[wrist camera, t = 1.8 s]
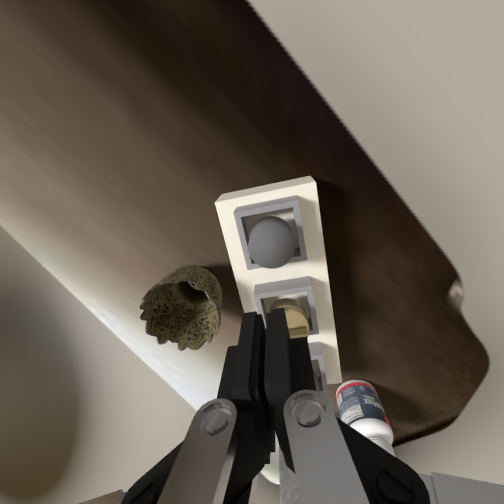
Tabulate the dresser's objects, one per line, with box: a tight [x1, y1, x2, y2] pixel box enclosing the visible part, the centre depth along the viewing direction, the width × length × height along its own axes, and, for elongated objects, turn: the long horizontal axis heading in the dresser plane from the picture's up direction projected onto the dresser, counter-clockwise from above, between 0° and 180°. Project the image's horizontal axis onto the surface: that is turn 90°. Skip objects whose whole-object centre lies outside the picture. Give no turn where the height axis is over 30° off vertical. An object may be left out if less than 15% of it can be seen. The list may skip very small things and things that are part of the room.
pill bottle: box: [336, 380, 396, 457], centre depth 34 cm, size 5×5×9 cm
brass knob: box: [268, 298, 309, 339], centre depth 25 cm, size 4×4×3 cm
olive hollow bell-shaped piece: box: [140, 265, 222, 351], centre depth 29 cm, size 8×7×8 cm
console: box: [215, 176, 342, 394], centre depth 29 cm, size 23×9×6 cm, turn 12°
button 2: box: [248, 216, 295, 269], centre depth 23 cm, size 4×4×3 cm
